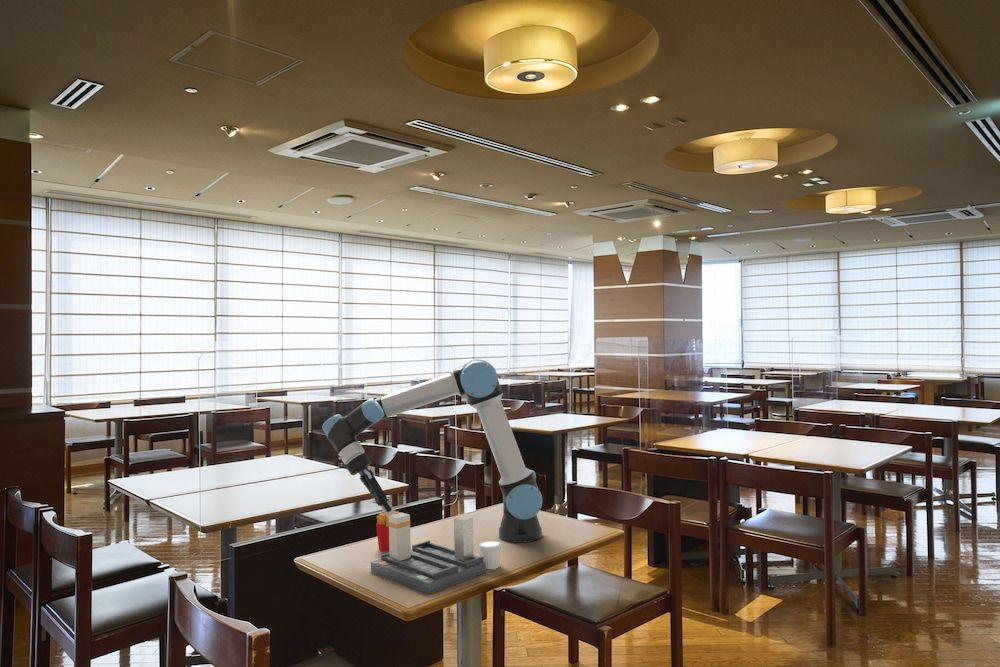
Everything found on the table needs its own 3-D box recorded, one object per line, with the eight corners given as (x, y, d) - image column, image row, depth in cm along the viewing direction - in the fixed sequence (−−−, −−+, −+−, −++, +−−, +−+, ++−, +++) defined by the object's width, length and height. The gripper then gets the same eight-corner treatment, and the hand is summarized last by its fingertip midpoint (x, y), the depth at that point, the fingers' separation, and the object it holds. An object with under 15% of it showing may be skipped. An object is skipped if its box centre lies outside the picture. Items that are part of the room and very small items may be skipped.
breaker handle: (402, 554, 204) (401, 512, 204) (411, 557, 201) (410, 514, 202) (389, 558, 201) (388, 515, 201) (397, 561, 198) (396, 518, 198)
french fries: (380, 552, 217) (380, 515, 217) (375, 549, 220) (374, 513, 221) (403, 546, 223) (402, 511, 223) (397, 544, 226) (396, 508, 226)
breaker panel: (427, 553, 215) (426, 504, 215) (485, 572, 196) (484, 518, 196) (370, 571, 199) (369, 518, 199) (428, 594, 180) (427, 535, 180)
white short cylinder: (504, 563, 203) (503, 540, 204) (499, 571, 197) (498, 547, 197) (482, 562, 205) (482, 539, 205) (476, 570, 198) (476, 546, 198)
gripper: (345, 469, 217) (384, 530, 212) (345, 460, 206) (386, 524, 200) (364, 457, 220) (403, 517, 215) (366, 447, 209) (407, 510, 203)
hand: (395, 520), depth 208 cm, fingers closed
